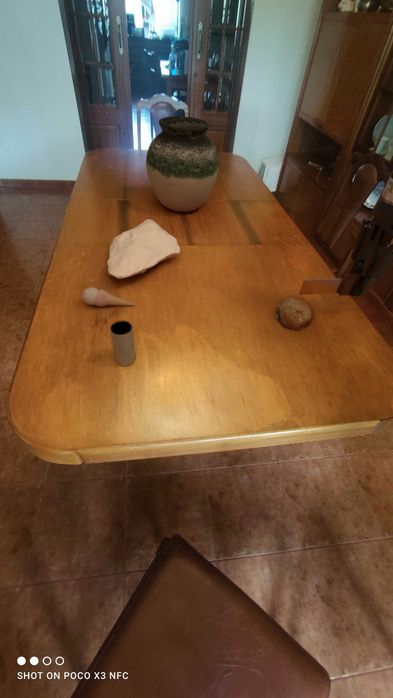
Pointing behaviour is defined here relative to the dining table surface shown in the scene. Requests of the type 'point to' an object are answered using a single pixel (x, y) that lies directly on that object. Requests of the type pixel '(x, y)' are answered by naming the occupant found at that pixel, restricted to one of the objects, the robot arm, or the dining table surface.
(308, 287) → the knife
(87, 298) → the ice cream cone
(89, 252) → the dining table surface
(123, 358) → the grey cylinder
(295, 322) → the bread roll
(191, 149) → the vase
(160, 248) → the white rock slab
